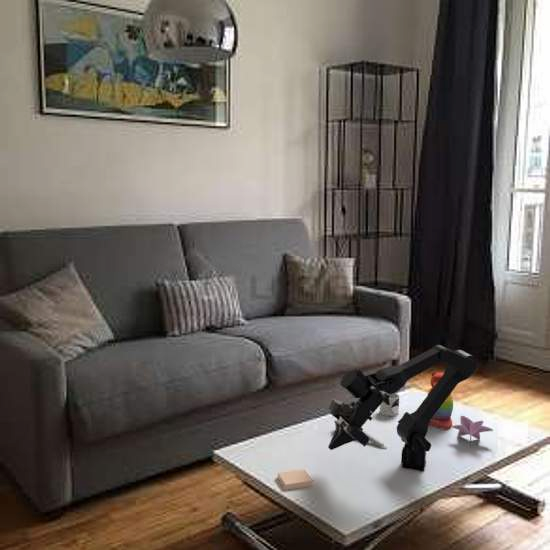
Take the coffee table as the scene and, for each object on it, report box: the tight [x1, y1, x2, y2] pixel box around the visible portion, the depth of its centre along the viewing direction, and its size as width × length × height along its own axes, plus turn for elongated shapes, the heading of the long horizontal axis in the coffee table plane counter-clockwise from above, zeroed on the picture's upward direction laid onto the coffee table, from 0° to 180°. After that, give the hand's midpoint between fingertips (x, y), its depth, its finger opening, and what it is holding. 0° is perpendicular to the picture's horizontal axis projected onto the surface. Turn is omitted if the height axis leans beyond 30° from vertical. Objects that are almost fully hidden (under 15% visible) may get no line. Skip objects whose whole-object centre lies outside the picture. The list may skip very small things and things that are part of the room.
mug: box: [379, 391, 400, 417], centre depth 229 cm, size 10×7×7 cm, turn 149°
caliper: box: [336, 419, 387, 450], centre depth 206 cm, size 20×1×6 cm, turn 43°
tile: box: [277, 468, 314, 491], centre depth 178 cm, size 2×7×8 cm
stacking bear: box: [426, 371, 454, 430], centre depth 219 cm, size 11×10×18 cm
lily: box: [451, 415, 494, 449], centre depth 204 cm, size 12×12×10 cm
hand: (329, 448), depth 179 cm, fingers closed
